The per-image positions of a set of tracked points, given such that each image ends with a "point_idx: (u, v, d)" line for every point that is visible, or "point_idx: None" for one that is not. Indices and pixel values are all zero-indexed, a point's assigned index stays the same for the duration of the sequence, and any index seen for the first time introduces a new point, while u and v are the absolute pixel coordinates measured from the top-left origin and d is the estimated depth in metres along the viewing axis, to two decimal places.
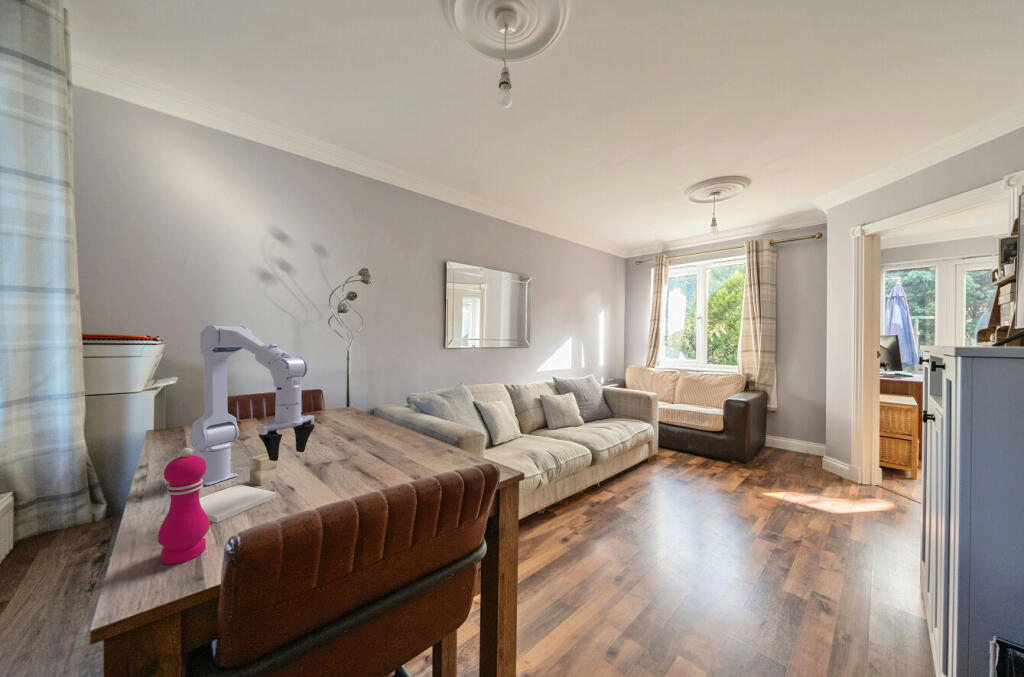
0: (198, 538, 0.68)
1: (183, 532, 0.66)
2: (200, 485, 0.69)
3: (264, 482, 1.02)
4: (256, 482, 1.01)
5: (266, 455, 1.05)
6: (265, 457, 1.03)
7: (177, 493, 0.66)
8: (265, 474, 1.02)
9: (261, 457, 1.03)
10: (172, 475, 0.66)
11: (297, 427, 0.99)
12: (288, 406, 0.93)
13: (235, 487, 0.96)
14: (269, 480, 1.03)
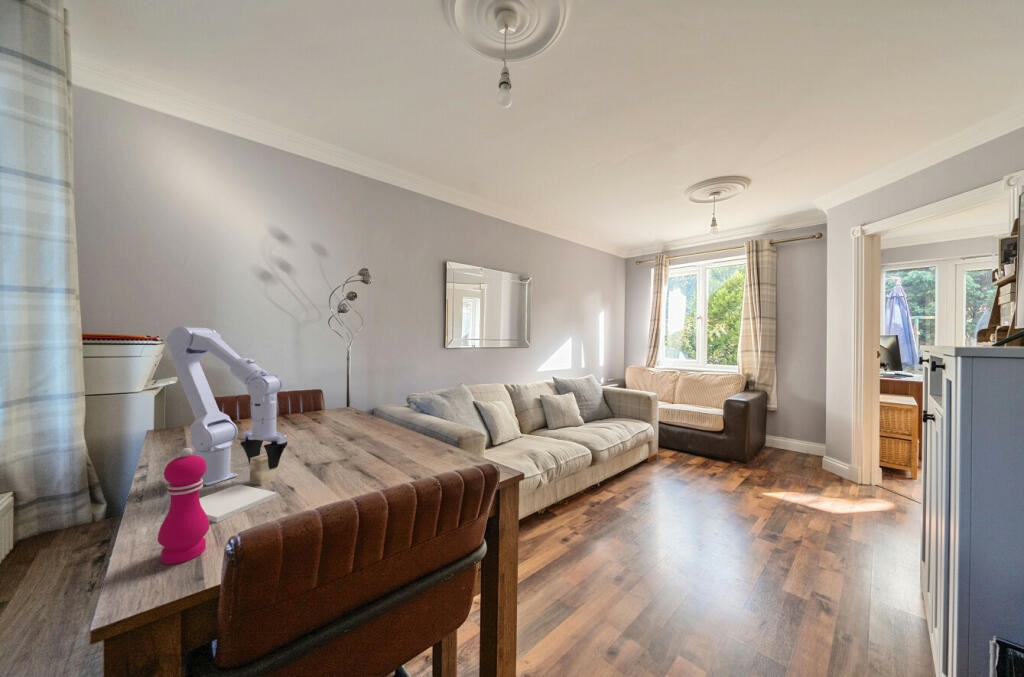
0: (198, 538, 0.68)
1: (183, 532, 0.66)
2: (200, 485, 0.69)
3: (264, 482, 1.02)
4: (256, 482, 1.01)
5: (266, 455, 1.05)
6: (265, 457, 1.03)
7: (177, 493, 0.66)
8: (265, 474, 1.02)
9: (261, 457, 1.03)
10: (172, 475, 0.66)
11: None
12: None
13: (235, 487, 0.96)
14: (269, 480, 1.03)
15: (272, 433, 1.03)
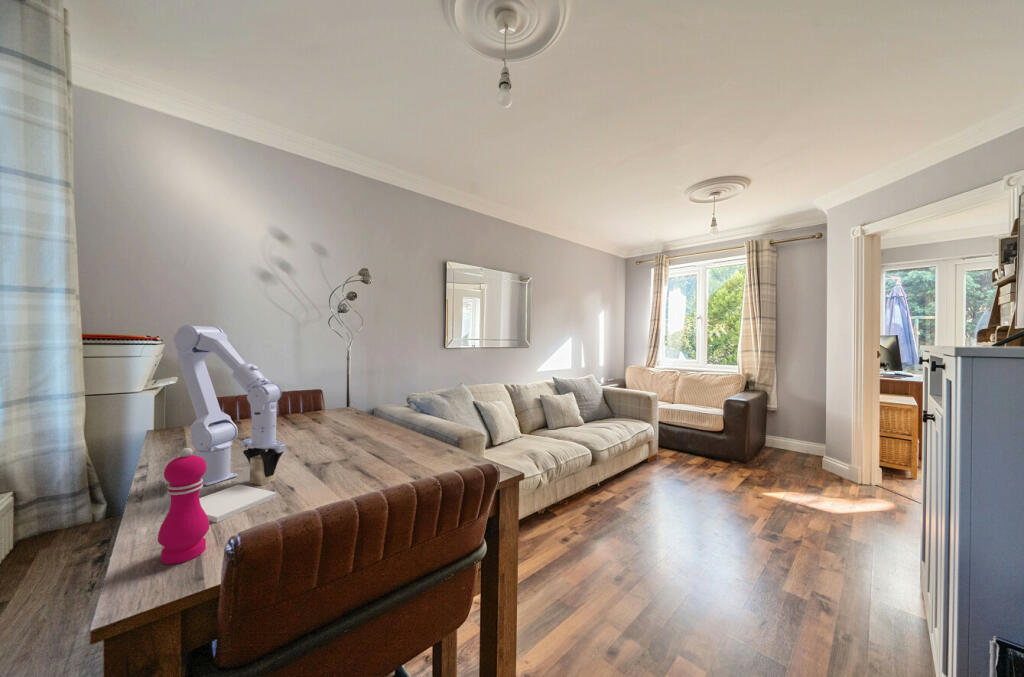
0: (198, 538, 0.68)
1: (183, 532, 0.66)
2: (200, 485, 0.69)
3: (264, 482, 1.02)
4: (256, 482, 1.01)
5: None
6: None
7: (177, 493, 0.66)
8: None
9: None
10: (172, 475, 0.66)
11: None
12: None
13: (235, 487, 0.96)
14: (269, 480, 1.03)
15: (272, 441, 1.03)
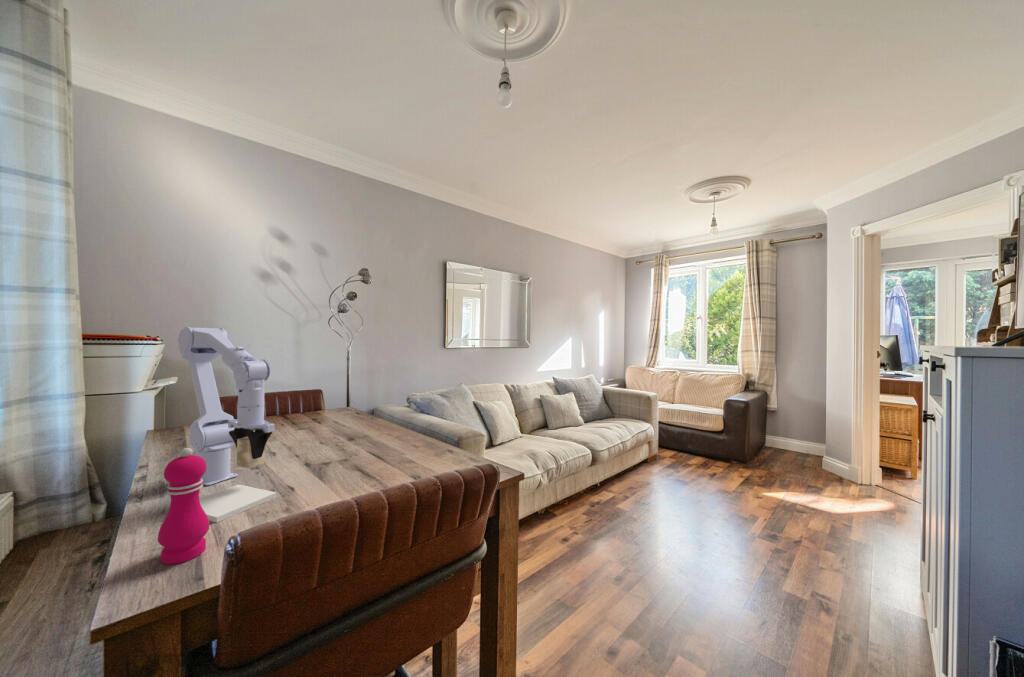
0: (198, 538, 0.68)
1: (183, 532, 0.66)
2: (200, 485, 0.69)
3: (252, 464, 0.96)
4: (243, 464, 0.95)
5: None
6: None
7: (177, 493, 0.66)
8: None
9: None
10: (172, 475, 0.66)
11: None
12: None
13: (235, 487, 0.96)
14: (257, 462, 0.97)
15: (259, 421, 0.97)
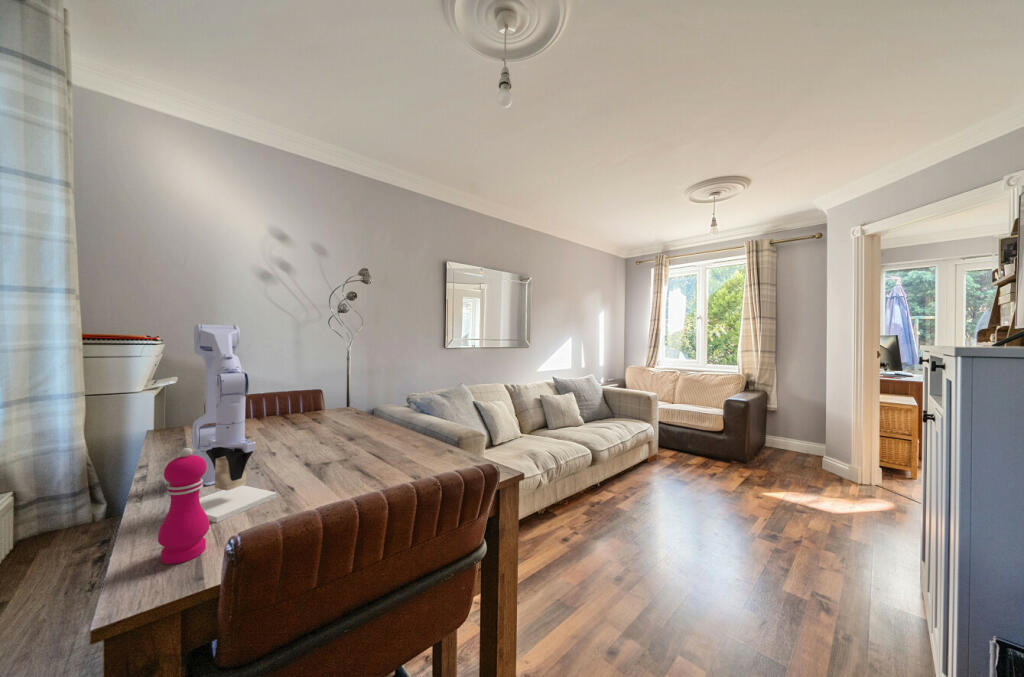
0: (198, 538, 0.68)
1: (183, 532, 0.66)
2: (200, 485, 0.69)
3: (231, 486, 0.88)
4: (222, 486, 0.88)
5: None
6: None
7: (177, 493, 0.66)
8: None
9: None
10: (172, 475, 0.66)
11: None
12: None
13: None
14: (237, 484, 0.89)
15: (239, 439, 0.89)
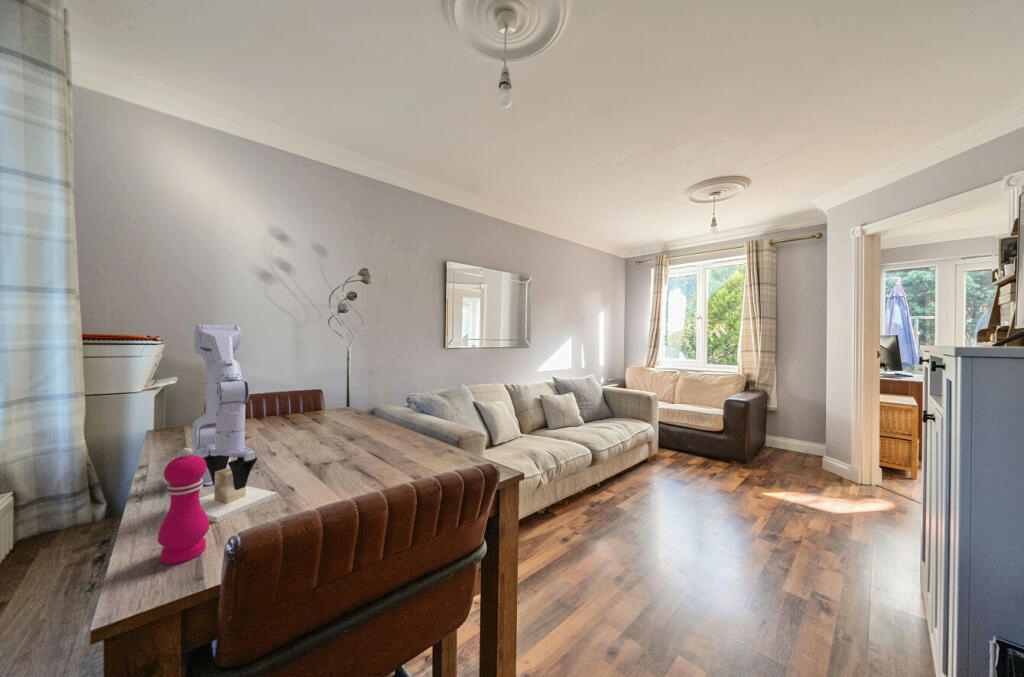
0: (198, 538, 0.68)
1: (183, 532, 0.66)
2: (200, 485, 0.69)
3: (231, 500, 0.88)
4: (221, 500, 0.88)
5: None
6: None
7: (177, 493, 0.66)
8: (232, 491, 0.88)
9: (228, 470, 0.89)
10: (172, 475, 0.66)
11: None
12: None
13: None
14: (237, 497, 0.89)
15: (239, 448, 0.89)
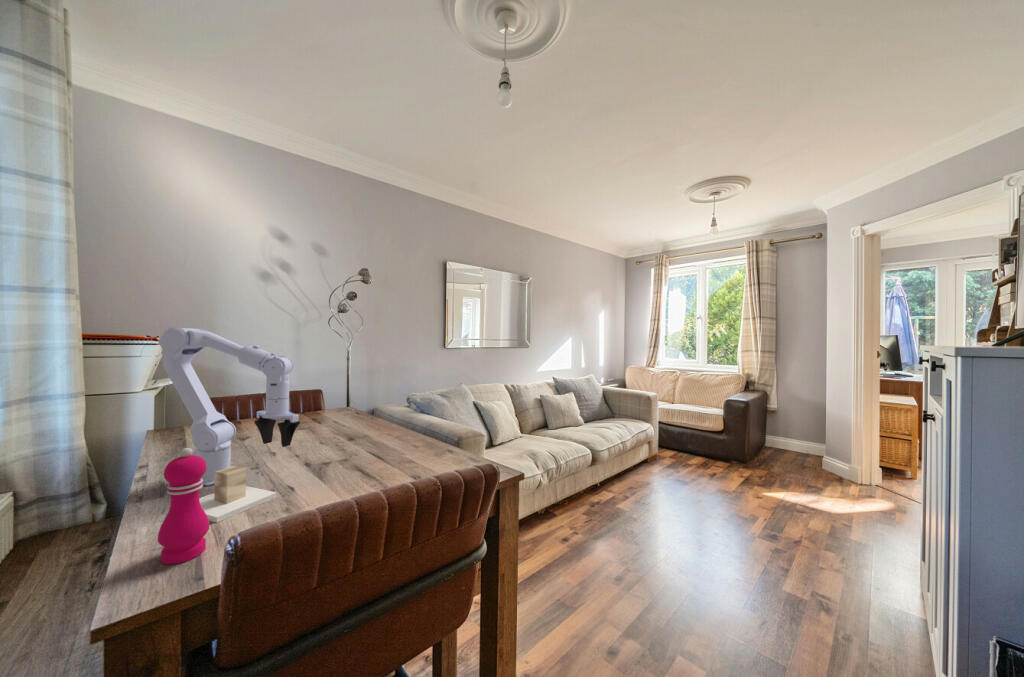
0: (198, 538, 0.68)
1: (183, 532, 0.66)
2: (200, 485, 0.69)
3: (231, 500, 0.88)
4: (221, 500, 0.88)
5: (234, 468, 0.91)
6: (232, 470, 0.89)
7: (177, 493, 0.66)
8: (232, 491, 0.88)
9: (228, 470, 0.89)
10: (172, 475, 0.66)
11: None
12: None
13: None
14: (237, 497, 0.89)
15: (285, 412, 1.07)
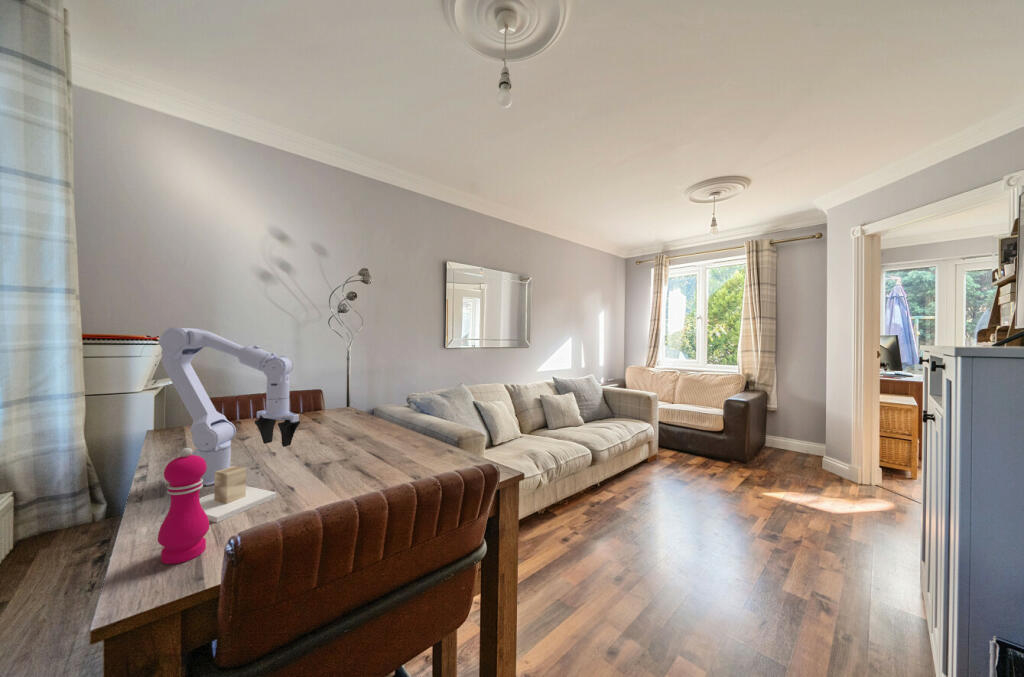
0: (198, 538, 0.68)
1: (183, 532, 0.66)
2: (200, 485, 0.69)
3: (231, 500, 0.88)
4: (221, 500, 0.88)
5: (234, 468, 0.91)
6: (232, 470, 0.89)
7: (177, 493, 0.66)
8: (232, 491, 0.88)
9: (228, 470, 0.89)
10: (172, 475, 0.66)
11: None
12: None
13: None
14: (237, 497, 0.89)
15: (285, 412, 1.07)
